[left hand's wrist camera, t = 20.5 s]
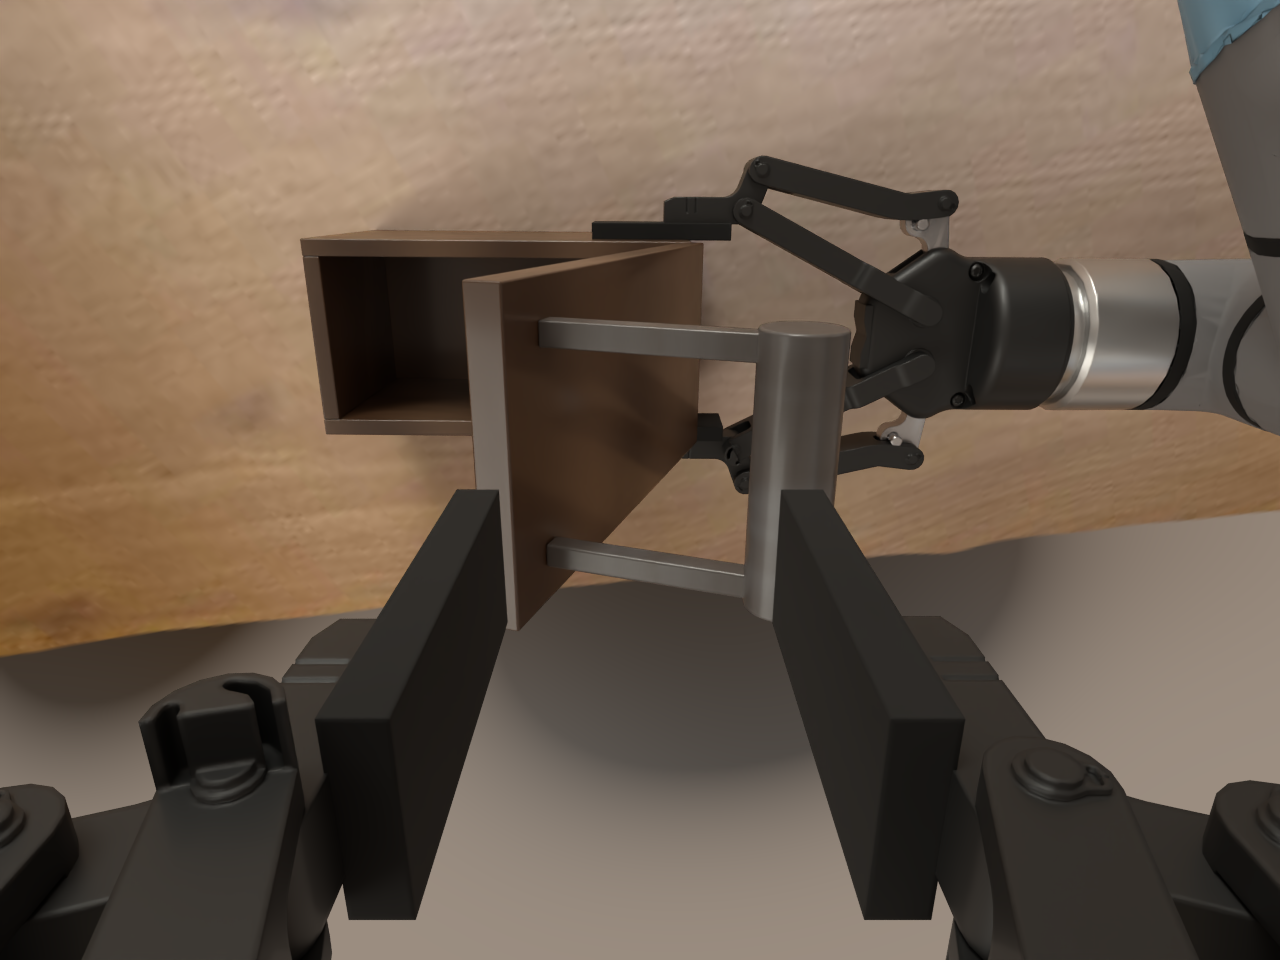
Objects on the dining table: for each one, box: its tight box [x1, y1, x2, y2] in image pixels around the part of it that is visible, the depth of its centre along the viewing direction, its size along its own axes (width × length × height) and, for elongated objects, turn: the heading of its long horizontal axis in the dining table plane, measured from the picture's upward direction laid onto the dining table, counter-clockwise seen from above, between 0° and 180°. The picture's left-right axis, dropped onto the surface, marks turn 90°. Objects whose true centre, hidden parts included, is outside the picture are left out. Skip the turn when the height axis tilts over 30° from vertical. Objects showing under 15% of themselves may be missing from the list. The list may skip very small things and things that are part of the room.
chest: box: [300, 230, 691, 436], centre depth 41 cm, size 18×9×10 cm, turn 90°
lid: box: [462, 242, 851, 631], centre depth 27 cm, size 18×9×9 cm
